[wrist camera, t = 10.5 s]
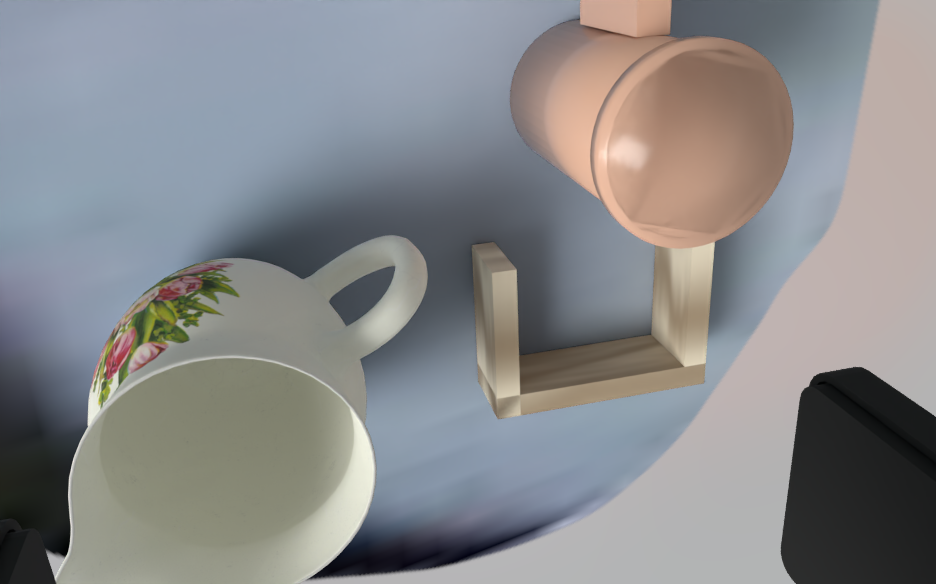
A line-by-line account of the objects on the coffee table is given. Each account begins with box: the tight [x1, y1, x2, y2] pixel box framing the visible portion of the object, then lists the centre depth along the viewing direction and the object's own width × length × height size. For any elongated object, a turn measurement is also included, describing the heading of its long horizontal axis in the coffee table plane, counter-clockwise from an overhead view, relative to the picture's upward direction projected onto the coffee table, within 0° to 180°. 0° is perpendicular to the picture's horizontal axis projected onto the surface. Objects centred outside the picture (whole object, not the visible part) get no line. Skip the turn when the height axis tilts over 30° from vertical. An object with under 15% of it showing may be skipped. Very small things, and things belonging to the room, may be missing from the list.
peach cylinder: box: [510, 0, 794, 249], centre depth 33 cm, size 13×8×12 cm, turn 3°
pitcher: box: [55, 235, 428, 584], centre depth 34 cm, size 11×18×14 cm, turn 127°
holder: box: [472, 242, 715, 419], centre depth 43 cm, size 8×11×4 cm
